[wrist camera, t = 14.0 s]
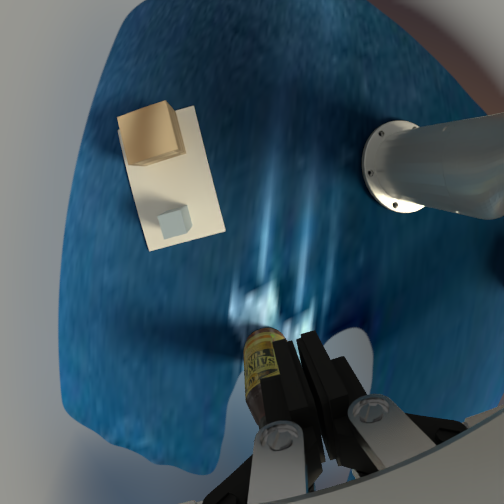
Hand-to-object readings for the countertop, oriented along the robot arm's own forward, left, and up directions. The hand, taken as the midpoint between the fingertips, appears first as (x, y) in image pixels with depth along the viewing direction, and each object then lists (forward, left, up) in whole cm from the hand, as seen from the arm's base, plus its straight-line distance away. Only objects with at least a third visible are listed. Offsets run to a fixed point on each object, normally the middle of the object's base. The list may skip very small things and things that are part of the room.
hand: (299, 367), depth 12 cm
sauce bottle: (+2, +16, -29) cm, 33 cm away
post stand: (+8, -9, -29) cm, 31 cm away
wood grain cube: (+8, -14, -29) cm, 33 cm away
